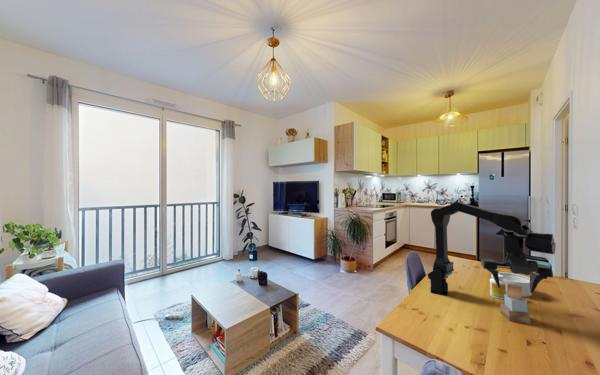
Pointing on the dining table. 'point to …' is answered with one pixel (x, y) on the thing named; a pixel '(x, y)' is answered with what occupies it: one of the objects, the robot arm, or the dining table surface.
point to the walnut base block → (515, 315)
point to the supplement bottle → (494, 289)
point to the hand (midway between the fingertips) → (514, 290)
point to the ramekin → (517, 282)
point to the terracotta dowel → (514, 292)
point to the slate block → (516, 304)
